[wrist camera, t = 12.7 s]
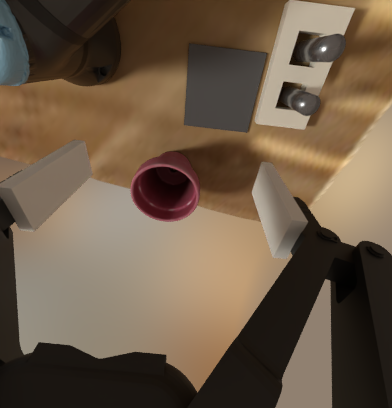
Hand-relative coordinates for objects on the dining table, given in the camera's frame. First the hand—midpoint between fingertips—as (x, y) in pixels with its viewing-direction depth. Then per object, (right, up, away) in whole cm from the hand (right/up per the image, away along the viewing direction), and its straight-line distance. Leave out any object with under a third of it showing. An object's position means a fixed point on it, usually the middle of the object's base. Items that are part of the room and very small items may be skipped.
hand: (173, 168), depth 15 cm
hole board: (+20, +22, +22) cm, 37 cm away
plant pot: (-4, +6, +35) cm, 36 cm away
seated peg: (+20, +19, +24) cm, 37 cm away
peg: (+21, +25, +20) cm, 38 cm away
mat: (+7, +20, +24) cm, 32 cm away
